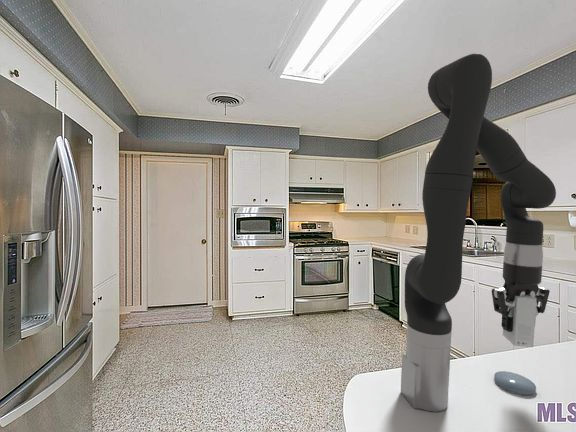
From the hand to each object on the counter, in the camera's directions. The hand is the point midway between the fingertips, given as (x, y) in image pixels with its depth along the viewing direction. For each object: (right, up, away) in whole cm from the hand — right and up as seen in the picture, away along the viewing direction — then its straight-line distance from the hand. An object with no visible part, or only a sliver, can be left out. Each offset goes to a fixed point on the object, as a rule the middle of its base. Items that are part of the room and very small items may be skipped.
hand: (518, 329), depth 77 cm
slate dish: (0, -14, +1) cm, 14 cm away
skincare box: (0, -3, 0) cm, 3 cm away
